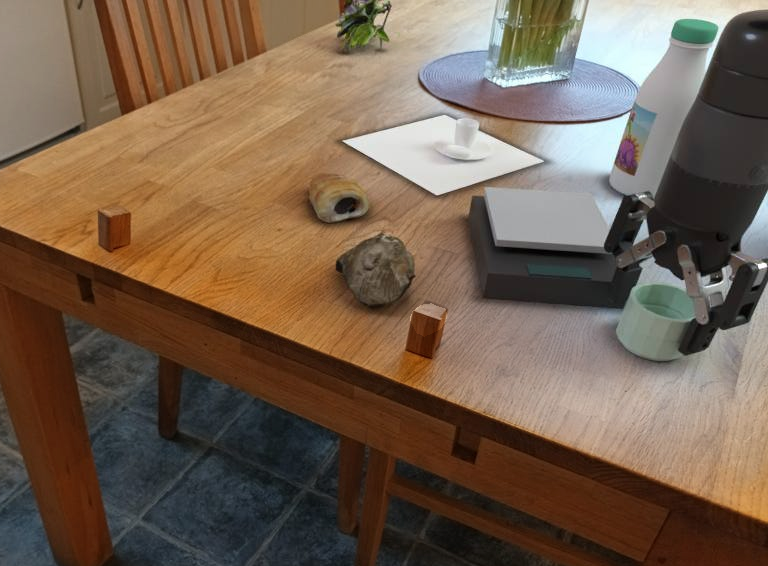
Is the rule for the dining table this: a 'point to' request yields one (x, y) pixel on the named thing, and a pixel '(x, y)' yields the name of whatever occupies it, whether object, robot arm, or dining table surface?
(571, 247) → the scale
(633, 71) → the dining table surface
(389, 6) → the passion flower
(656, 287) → the cup
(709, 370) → the dining table surface
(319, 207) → the pastry
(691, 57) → the milk bottle
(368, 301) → the fossilized seashell
